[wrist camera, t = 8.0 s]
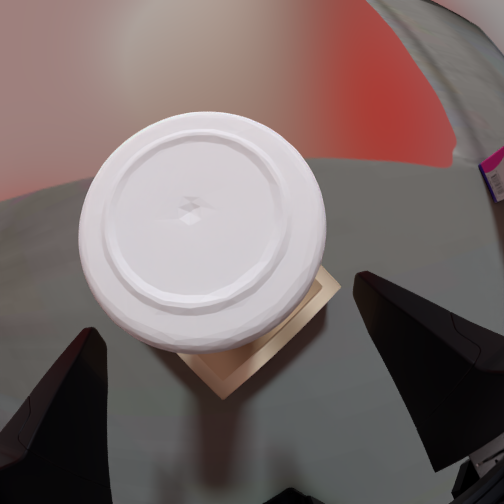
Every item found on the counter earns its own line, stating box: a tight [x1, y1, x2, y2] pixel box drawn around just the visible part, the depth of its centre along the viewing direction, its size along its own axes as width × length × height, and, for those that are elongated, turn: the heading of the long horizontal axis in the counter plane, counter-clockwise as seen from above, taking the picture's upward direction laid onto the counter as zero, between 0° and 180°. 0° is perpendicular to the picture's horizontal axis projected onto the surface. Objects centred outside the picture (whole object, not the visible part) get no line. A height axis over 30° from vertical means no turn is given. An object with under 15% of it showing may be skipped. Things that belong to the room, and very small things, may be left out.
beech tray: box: [177, 265, 341, 400], centre depth 19 cm, size 11×11×3 cm
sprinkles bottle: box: [79, 112, 326, 354], centre depth 11 cm, size 5×5×14 cm
